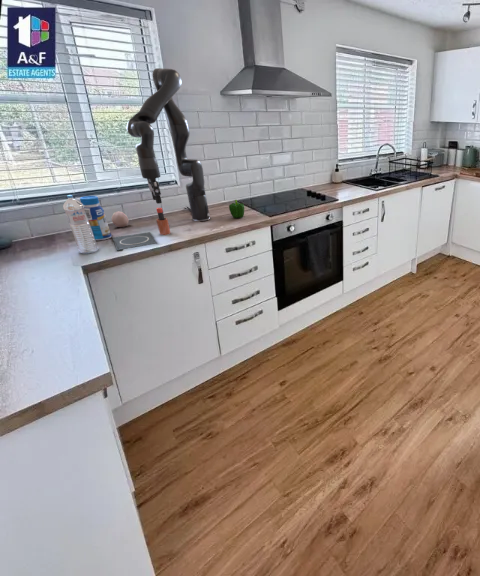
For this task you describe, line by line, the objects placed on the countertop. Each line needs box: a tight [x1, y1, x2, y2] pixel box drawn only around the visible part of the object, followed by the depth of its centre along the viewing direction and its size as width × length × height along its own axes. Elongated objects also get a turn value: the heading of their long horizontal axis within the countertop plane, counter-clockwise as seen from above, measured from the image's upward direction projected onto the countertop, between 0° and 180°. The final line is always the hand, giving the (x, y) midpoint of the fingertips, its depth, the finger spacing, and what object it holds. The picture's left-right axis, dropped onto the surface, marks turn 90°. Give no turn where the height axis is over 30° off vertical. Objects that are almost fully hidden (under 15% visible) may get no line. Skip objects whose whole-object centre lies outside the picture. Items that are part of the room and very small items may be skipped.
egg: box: [111, 211, 129, 228], centre depth 194 cm, size 7×7×8 cm
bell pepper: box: [228, 199, 245, 219], centre depth 217 cm, size 8×8×10 cm
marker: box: [156, 207, 165, 220], centre depth 185 cm, size 2×2×13 cm
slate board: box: [112, 231, 158, 252], centre depth 177 cm, size 20×16×1 cm
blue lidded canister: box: [79, 195, 113, 241], centre depth 176 cm, size 8×8×20 cm
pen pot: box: [156, 217, 171, 236], centre depth 186 cm, size 5×5×8 cm
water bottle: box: [62, 194, 99, 255], centre depth 159 cm, size 7×7×25 cm
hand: (157, 201), depth 181 cm, fingers open, 8 cm apart
